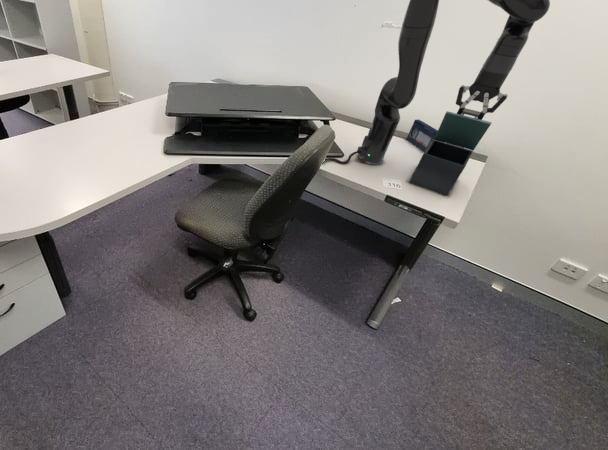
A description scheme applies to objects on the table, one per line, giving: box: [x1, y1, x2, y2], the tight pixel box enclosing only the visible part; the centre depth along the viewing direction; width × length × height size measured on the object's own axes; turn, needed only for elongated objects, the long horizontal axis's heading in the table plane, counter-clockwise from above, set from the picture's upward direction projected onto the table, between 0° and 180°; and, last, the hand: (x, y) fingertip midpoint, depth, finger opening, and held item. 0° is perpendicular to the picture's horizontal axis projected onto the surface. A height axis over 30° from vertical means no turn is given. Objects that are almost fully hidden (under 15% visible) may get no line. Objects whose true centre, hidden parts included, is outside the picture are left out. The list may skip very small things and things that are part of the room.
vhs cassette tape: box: [406, 119, 446, 152], centre depth 148 cm, size 18×3×10 cm, turn 11°
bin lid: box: [434, 107, 492, 151], centre depth 119 cm, size 16×14×5 cm
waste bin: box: [408, 140, 474, 197], centre depth 126 cm, size 16×14×13 cm
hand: (467, 119), depth 116 cm, fingers closed on bin lid, 5 cm apart
